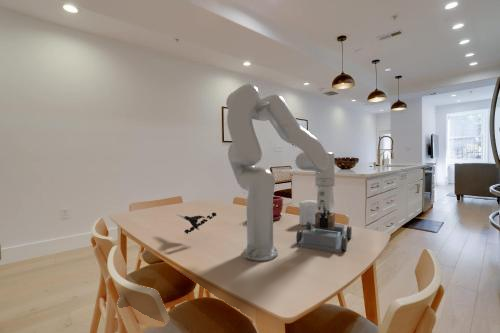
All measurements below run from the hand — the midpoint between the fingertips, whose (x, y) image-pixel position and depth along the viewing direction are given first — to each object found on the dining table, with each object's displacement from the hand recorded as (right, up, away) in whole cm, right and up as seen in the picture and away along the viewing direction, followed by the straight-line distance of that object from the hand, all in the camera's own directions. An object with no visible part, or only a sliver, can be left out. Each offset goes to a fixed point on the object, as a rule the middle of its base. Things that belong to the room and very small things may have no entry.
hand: (325, 225), depth 102 cm
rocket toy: (-58, -8, +7) cm, 59 cm away
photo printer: (-1, -5, +24) cm, 24 cm away
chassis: (0, -6, 0) cm, 6 cm away
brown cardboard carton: (0, -1, 0) cm, 1 cm away
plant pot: (-19, -5, +36) cm, 41 cm away
